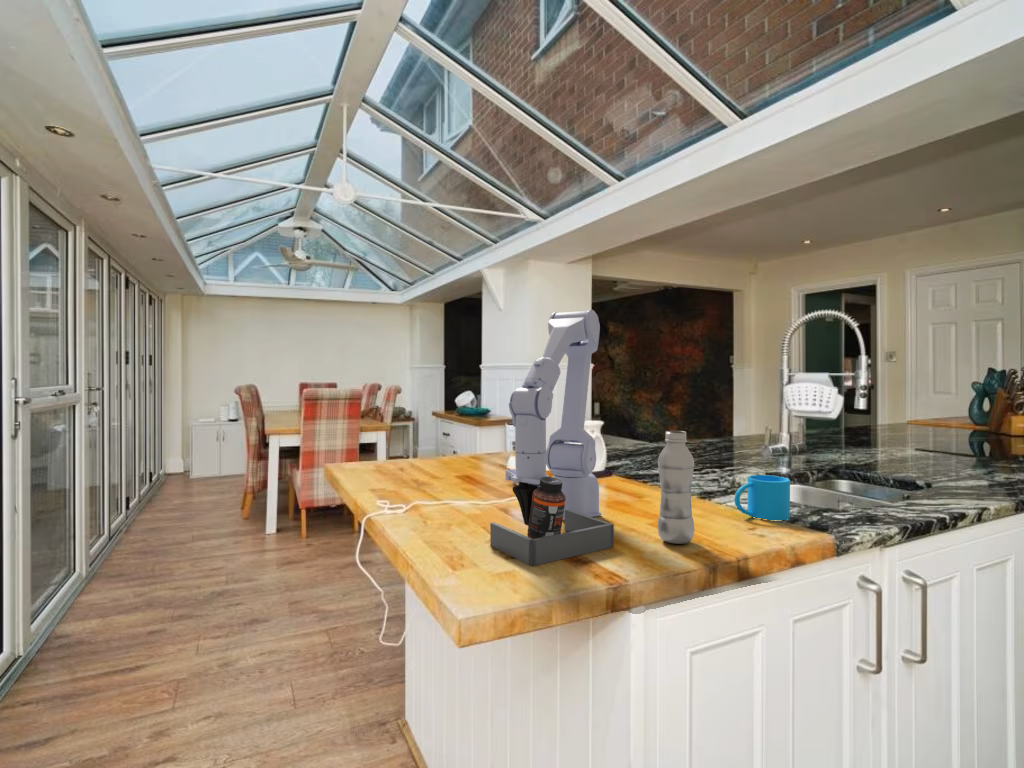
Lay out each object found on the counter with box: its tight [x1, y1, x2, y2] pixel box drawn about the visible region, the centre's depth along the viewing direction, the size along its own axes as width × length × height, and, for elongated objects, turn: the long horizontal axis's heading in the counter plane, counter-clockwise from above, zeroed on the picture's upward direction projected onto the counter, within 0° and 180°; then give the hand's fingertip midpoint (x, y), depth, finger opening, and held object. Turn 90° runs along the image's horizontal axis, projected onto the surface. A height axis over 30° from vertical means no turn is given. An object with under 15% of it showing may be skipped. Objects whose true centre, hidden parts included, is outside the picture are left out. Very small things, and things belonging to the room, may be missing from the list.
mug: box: [733, 474, 791, 521], centre depth 116 cm, size 12×8×8 cm
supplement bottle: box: [526, 476, 566, 539], centre depth 97 cm, size 6×6×11 cm
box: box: [489, 509, 615, 567], centre depth 96 cm, size 18×13×4 cm
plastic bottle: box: [657, 430, 695, 545], centre depth 98 cm, size 6×7×20 cm
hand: (530, 524), depth 102 cm, fingers closed
